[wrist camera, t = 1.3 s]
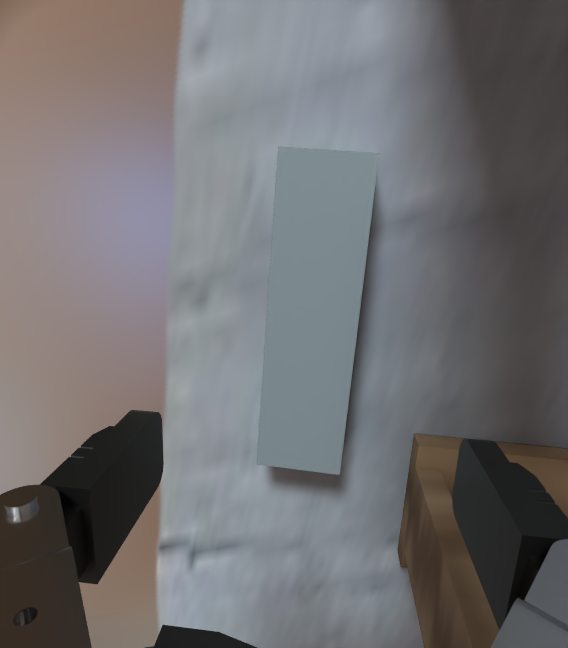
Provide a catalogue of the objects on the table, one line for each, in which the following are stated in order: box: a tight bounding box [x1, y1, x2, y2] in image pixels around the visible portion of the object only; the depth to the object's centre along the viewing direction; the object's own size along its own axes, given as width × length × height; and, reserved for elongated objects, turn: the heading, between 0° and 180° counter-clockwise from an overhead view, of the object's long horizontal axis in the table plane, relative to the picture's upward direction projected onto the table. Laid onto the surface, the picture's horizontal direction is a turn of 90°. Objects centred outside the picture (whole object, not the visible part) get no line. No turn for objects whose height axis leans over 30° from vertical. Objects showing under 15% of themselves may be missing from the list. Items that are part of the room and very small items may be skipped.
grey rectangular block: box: [257, 147, 379, 475], centre depth 26 cm, size 18×5×4 cm, turn 175°
